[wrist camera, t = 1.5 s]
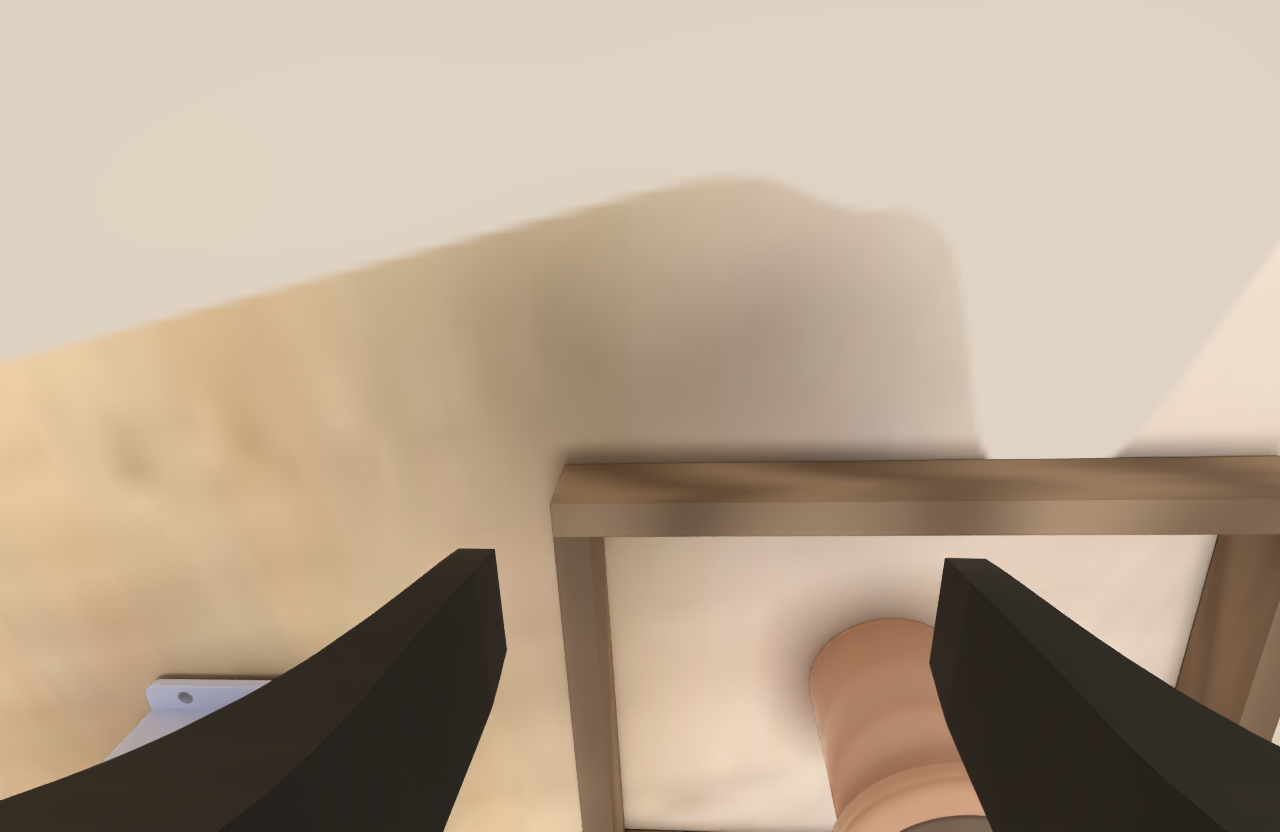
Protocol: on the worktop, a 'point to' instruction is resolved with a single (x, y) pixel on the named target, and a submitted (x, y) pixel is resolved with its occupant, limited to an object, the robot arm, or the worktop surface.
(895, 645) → the terracotta pot
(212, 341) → the worktop surface
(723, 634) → the worktop surface
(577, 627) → the cold frame
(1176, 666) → the worktop surface
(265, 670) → the worktop surface
